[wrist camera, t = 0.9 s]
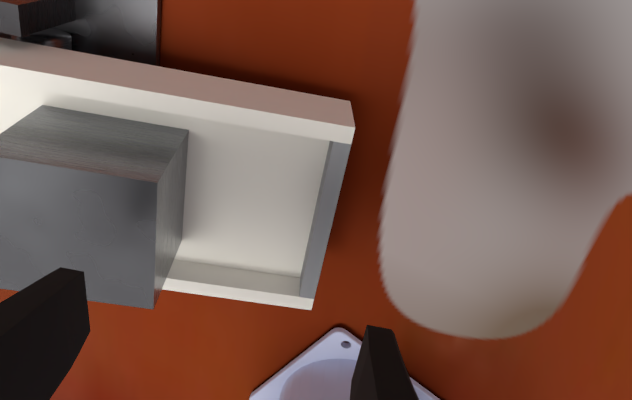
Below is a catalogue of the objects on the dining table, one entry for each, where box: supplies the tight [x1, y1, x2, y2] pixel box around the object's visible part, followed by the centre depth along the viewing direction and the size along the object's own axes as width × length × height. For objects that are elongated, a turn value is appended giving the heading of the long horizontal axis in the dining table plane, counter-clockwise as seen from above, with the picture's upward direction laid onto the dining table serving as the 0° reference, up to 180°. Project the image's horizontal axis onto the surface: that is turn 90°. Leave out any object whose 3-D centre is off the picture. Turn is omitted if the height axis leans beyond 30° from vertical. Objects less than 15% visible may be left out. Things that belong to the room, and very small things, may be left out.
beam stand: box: [0, 0, 161, 66], centre depth 20 cm, size 8×12×4 cm, turn 170°
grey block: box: [0, 105, 189, 309], centre depth 17 cm, size 5×5×4 cm
